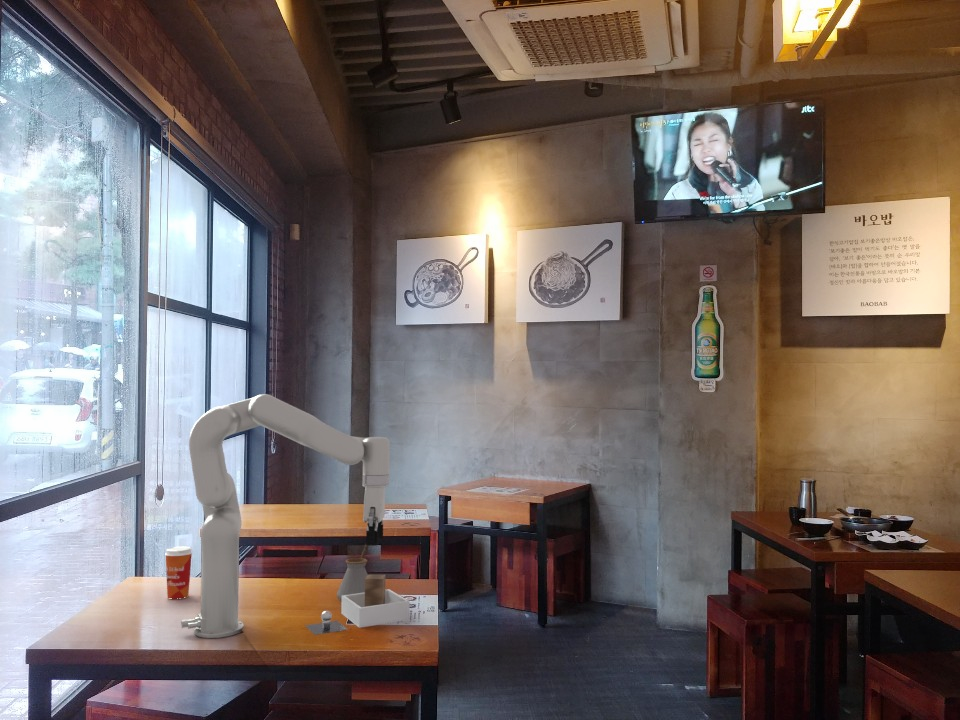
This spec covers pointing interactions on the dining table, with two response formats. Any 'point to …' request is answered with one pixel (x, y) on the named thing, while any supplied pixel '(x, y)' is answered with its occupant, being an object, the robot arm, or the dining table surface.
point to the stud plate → (322, 631)
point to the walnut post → (374, 590)
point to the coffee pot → (354, 576)
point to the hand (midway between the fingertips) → (374, 541)
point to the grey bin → (375, 609)
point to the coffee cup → (178, 571)
